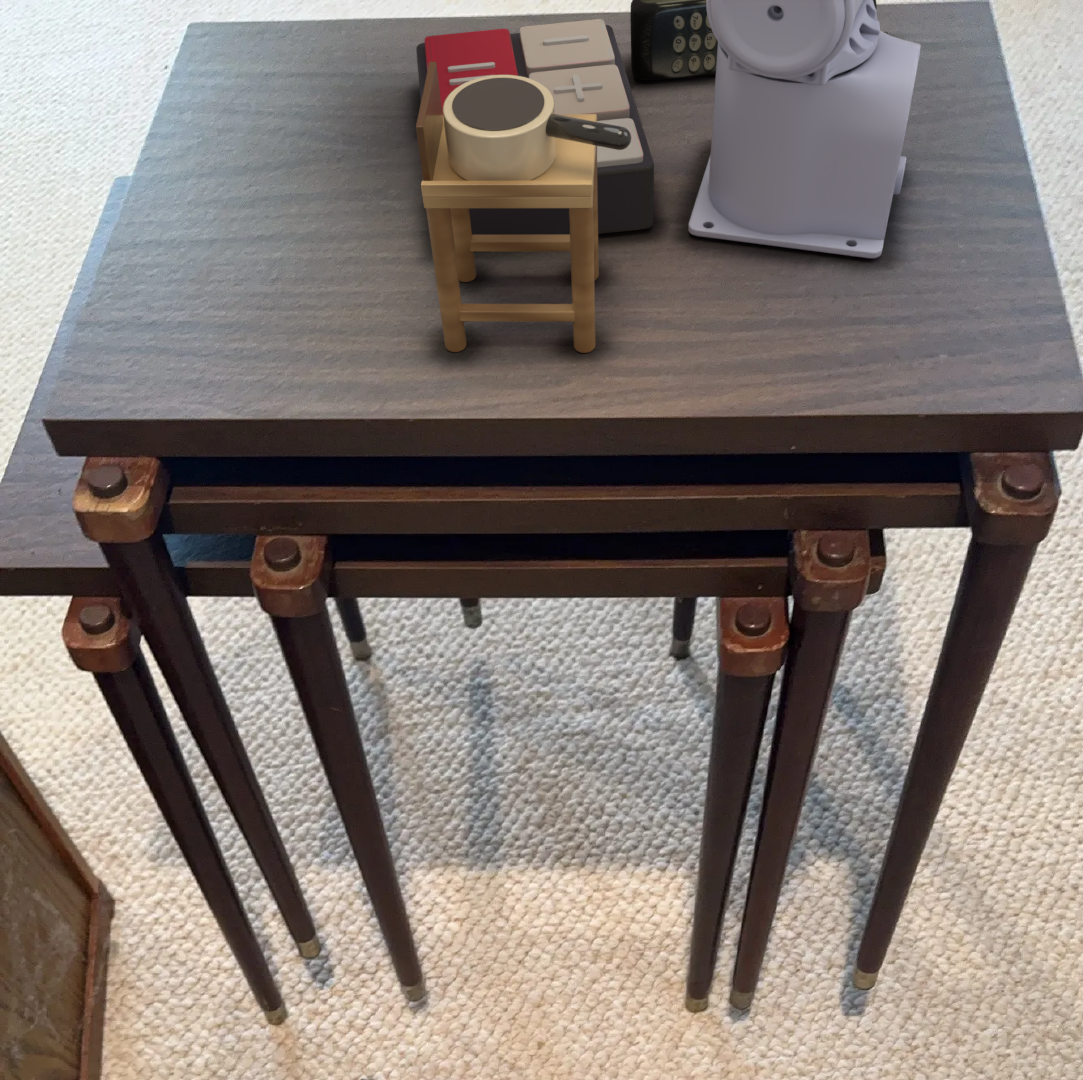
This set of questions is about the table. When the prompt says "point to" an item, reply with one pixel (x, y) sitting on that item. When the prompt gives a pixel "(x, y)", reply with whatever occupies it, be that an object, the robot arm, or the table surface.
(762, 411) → the table surface
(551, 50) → the calculator
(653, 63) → the mobile phone
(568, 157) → the wooden l-shaped block
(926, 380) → the table surface
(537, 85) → the pan
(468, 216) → the stand
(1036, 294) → the table surface
